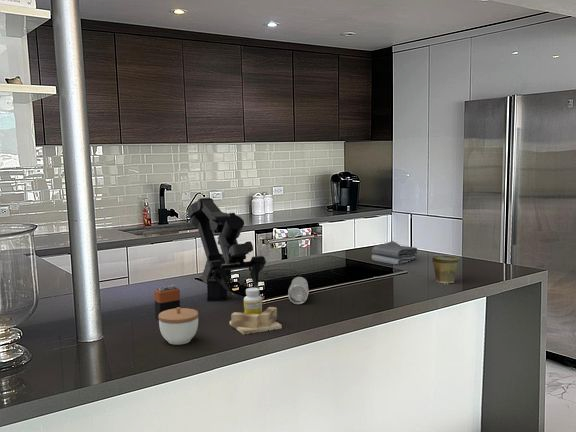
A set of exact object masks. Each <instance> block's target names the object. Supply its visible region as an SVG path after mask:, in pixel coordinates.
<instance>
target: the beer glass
mask: <svg viewBox="0 0 576 432" xmlns="http://www.w3.org/2000/svg"><path fill="white" fill-rule="evenodd" d="M308 284H309V283H308V281H307V279H306V278H305V277H302V276H297V277H294V278H293V279H292V280H291V284H290V285H289V287H288V292H287V296H288V299H289V300H290V302H292V304H295V305H302V304H304V303H305V302H306V301H307V299H308V296H309V294H310V293H309V291H310V290H309V285H308Z"/></svg>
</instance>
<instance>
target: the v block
mask: <svg viewBox="0 0 576 432" xmlns="http://www.w3.org/2000/svg"><path fill="white" fill-rule="evenodd" d="M230 318H231V320H229V325H230V326H231V327H232V328H234V329H235V330H237V331H238V332H239V333H241V335H243V336H245V334H246V335H251V334H250V333H252V334H256V333H257V332H258V333H263V332H268V330H269V331H275V330H279V329H282V328H283V327H282V326H283V325H282V324H281V323H280V322H278V321H276V320H277V319H278V308H277V307H275V306H269V307H267V308H266V309H265V310H264V311H262V313H261V314H249V313H244V312H236V311H235V312H232V313H231V315H230ZM274 329H275V330H274ZM258 333H257V334H258Z"/></svg>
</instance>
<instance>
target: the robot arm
mask: <svg viewBox="0 0 576 432" xmlns="http://www.w3.org/2000/svg"><path fill="white" fill-rule="evenodd" d="M187 217H188V218H189V220H190V222H191V224H192V225H193V226H195V228H197V230H198V234H199V237H200V240H201V244H202V247H203V250H204V254H205V258H206V263H205V265H204V270H203V272H202V274H201V278H202V279H201V280H202V282H203V283H204V284H206V290H207V291H206V292H207V294H206V301H207V302H216V301H226V299H227V298H228V292H229V293H230V292H231V287H230V283H229V282H230V280H231V273H232V270H241V269H248V270H249V272H250V273H249V275H250V277H251V280H252V282H253V285H254V288H258V289H259V274H260V272H262V271H263V269H264V267H265V266H266V263H267V260H266V258H265V256H264V255H257V256H252V257H251V259H250V261H245V260H246V259H247V256H246V255H249V253H251V252H253V251H254V246H253V243H252V241H251V240H250V241H249V240H248V241H245V242H244V243H239V242H238V240H237V239H238V238H239V237H240V236H241V232H242V231H243V228H244V226H245V221H244V219H243V218H242V217H241V216H239V215H236V213H235V212H229V213H228V212H223V211H222V210H221V209H220V208H219V206H217V204H216V203H215V202H214V199H213V198H211V197H201V198H198V200H197V201H195V202H193V203H191V204H190V205H189V206H188V208H187ZM214 234H218V237H217V240H216V238H215V235H214ZM218 245H219V246H220V247H218ZM219 248H220V250H219ZM220 251H221V253H220Z"/></svg>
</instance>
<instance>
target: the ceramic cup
mask: <svg viewBox="0 0 576 432" xmlns="http://www.w3.org/2000/svg"><path fill="white" fill-rule="evenodd" d="M459 261H460V257H459V256H457V255H453V254H452V255H450V254H435V255H433V256H432V264H433V269H434V275H435V282H436V283H437V282H438V283H437V284H440V283H444V284H443V285H449V284H448V283H453V284H454V283H455V279H456V273H457V269H458V267H459ZM445 283H447V284H445Z"/></svg>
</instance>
